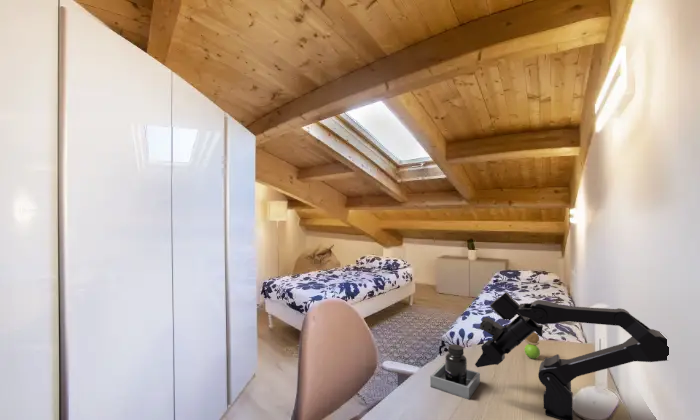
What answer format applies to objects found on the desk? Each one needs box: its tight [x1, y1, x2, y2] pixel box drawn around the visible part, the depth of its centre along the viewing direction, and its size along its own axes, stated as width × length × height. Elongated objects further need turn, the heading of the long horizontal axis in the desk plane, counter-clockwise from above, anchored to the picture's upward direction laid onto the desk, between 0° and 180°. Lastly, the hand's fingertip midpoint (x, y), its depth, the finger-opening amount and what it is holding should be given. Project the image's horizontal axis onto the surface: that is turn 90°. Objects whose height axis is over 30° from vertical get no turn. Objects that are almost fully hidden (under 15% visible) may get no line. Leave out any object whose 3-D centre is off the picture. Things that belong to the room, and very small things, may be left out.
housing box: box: [430, 362, 481, 400], centre depth 106 cm, size 12×12×4 cm
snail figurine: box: [524, 332, 541, 360], centre depth 128 cm, size 5×6×12 cm
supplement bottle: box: [444, 344, 468, 386], centre depth 107 cm, size 7×7×12 cm
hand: (480, 361), depth 103 cm, fingers open, 9 cm apart
